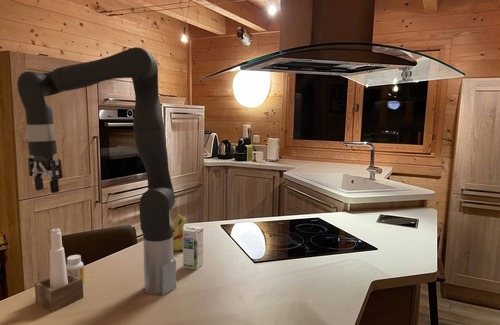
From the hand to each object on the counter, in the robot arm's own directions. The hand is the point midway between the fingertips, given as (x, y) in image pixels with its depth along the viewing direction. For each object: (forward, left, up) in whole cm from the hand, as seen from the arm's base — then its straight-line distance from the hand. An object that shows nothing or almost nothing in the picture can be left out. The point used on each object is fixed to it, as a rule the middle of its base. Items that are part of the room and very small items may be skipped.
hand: (47, 191), depth 110 cm
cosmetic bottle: (-10, +4, -32) cm, 34 cm away
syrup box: (-27, -37, -32) cm, 56 cm away
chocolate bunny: (-12, -46, -32) cm, 57 cm away
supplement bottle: (-5, -5, -32) cm, 33 cm away
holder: (-10, +4, -32) cm, 33 cm away
